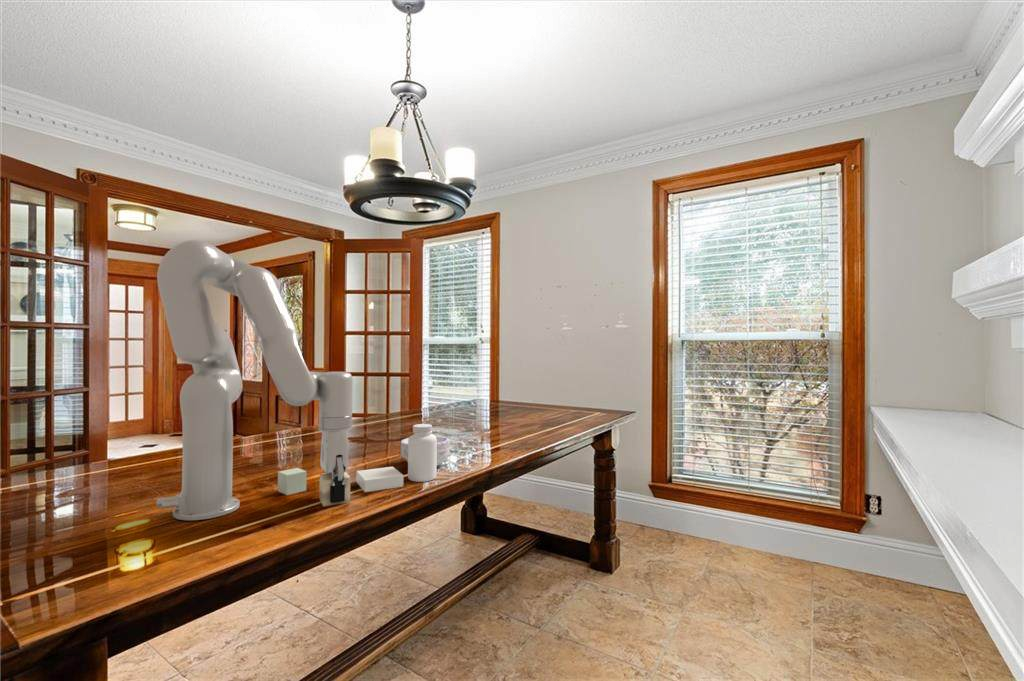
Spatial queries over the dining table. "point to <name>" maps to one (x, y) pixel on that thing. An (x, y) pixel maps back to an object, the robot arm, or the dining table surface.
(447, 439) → the paper bowls
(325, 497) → the maple cube
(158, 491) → the dining table surface
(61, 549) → the dining table surface
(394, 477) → the plinth
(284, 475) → the sage cube
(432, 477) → the pill bottle
